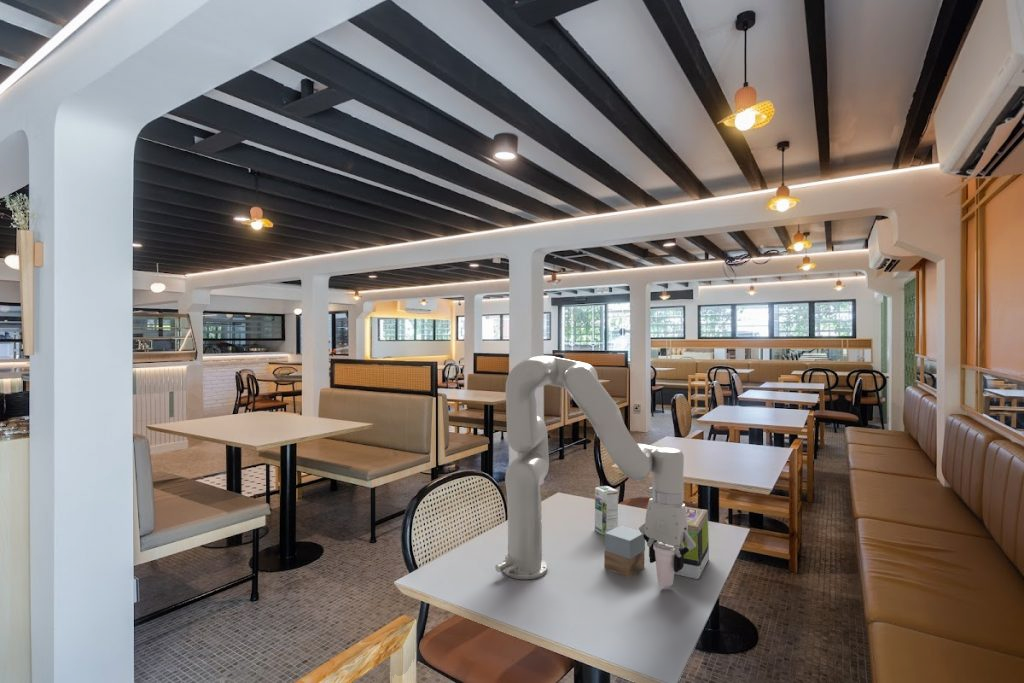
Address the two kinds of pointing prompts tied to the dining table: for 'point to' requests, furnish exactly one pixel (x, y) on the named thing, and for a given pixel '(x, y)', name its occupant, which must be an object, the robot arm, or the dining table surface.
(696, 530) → the tea box
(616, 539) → the tower top
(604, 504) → the syrup box
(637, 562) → the tower base
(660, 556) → the smoothie
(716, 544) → the dining table surface
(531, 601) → the dining table surface
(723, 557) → the dining table surface
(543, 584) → the dining table surface
